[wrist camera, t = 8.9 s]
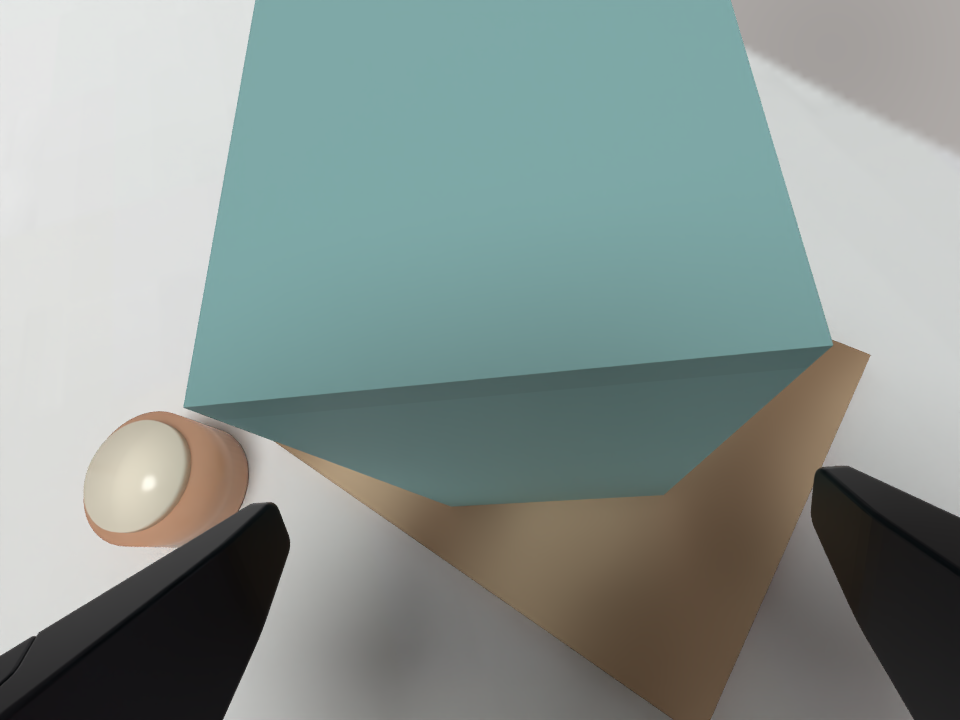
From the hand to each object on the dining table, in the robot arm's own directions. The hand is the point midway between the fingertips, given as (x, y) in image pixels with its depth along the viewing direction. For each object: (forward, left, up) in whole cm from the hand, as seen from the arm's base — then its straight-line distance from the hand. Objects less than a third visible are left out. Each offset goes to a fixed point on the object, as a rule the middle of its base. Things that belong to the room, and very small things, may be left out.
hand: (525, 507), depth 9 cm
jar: (+12, +6, -8) cm, 16 cm away
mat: (+2, -3, -8) cm, 9 cm away
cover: (+2, -3, -8) cm, 9 cm away
